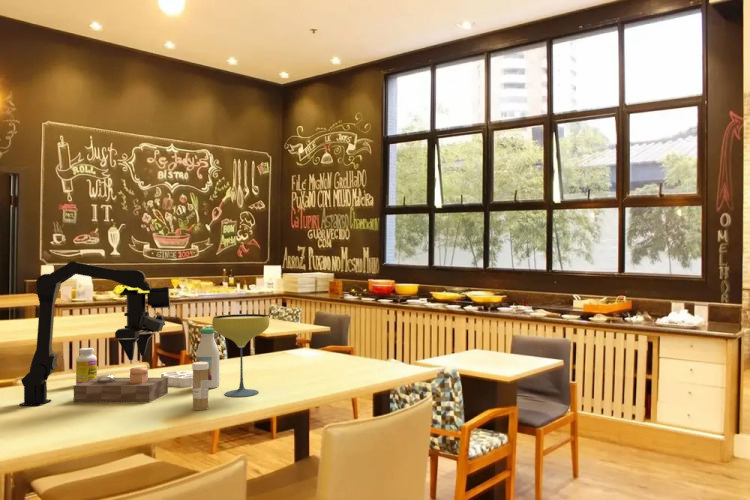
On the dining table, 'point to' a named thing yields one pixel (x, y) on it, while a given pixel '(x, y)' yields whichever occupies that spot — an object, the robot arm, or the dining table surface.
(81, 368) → the supplement bottle
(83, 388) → the brown flat block
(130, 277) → the robot arm
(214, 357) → the milk bottle
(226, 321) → the cocktail glass
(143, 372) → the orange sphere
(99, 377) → the knob steel
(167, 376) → the white recessed tray
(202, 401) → the sprinkles bottle
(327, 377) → the dining table surface
